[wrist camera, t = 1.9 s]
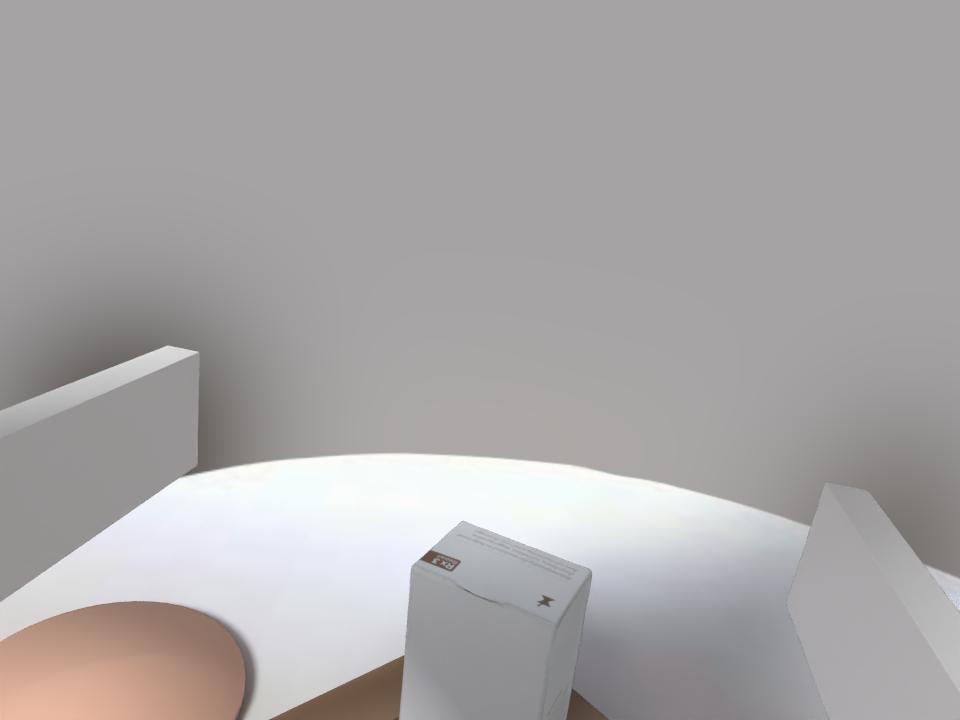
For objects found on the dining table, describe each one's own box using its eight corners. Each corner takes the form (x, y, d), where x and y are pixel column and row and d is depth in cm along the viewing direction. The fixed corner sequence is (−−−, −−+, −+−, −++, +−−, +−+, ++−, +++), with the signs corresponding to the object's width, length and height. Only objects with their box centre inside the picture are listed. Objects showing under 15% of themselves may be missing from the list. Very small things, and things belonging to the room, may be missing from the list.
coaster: (291, 732, 32) (292, 722, 32) (-65, 911, 23) (-67, 898, 23) (190, 583, 41) (190, 574, 40) (-94, 671, 32) (-95, 661, 32)
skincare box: (554, 799, 30) (604, 564, 27) (512, 889, 26) (565, 628, 23) (434, 734, 33) (466, 511, 29) (380, 807, 29) (409, 561, 25)
